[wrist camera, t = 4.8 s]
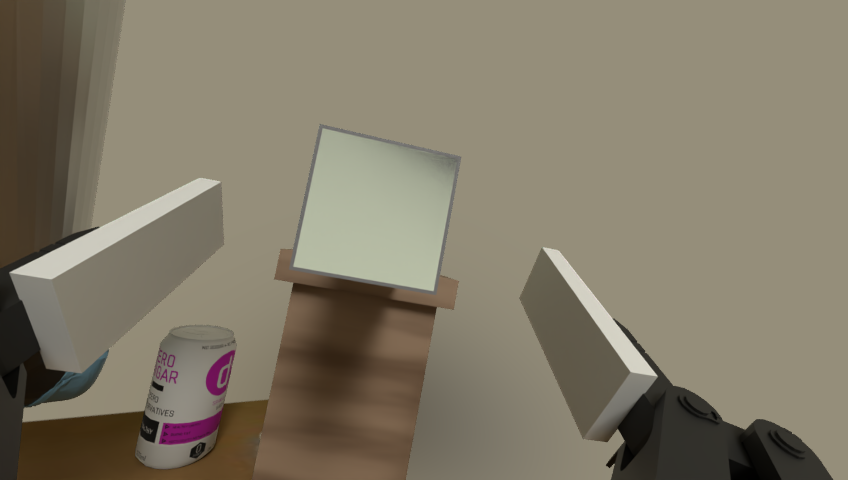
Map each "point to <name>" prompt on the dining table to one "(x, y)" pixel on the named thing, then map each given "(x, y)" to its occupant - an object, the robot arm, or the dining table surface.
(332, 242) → the bar
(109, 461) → the dining table surface
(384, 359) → the stand
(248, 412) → the dining table surface
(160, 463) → the supplement can
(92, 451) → the dining table surface
